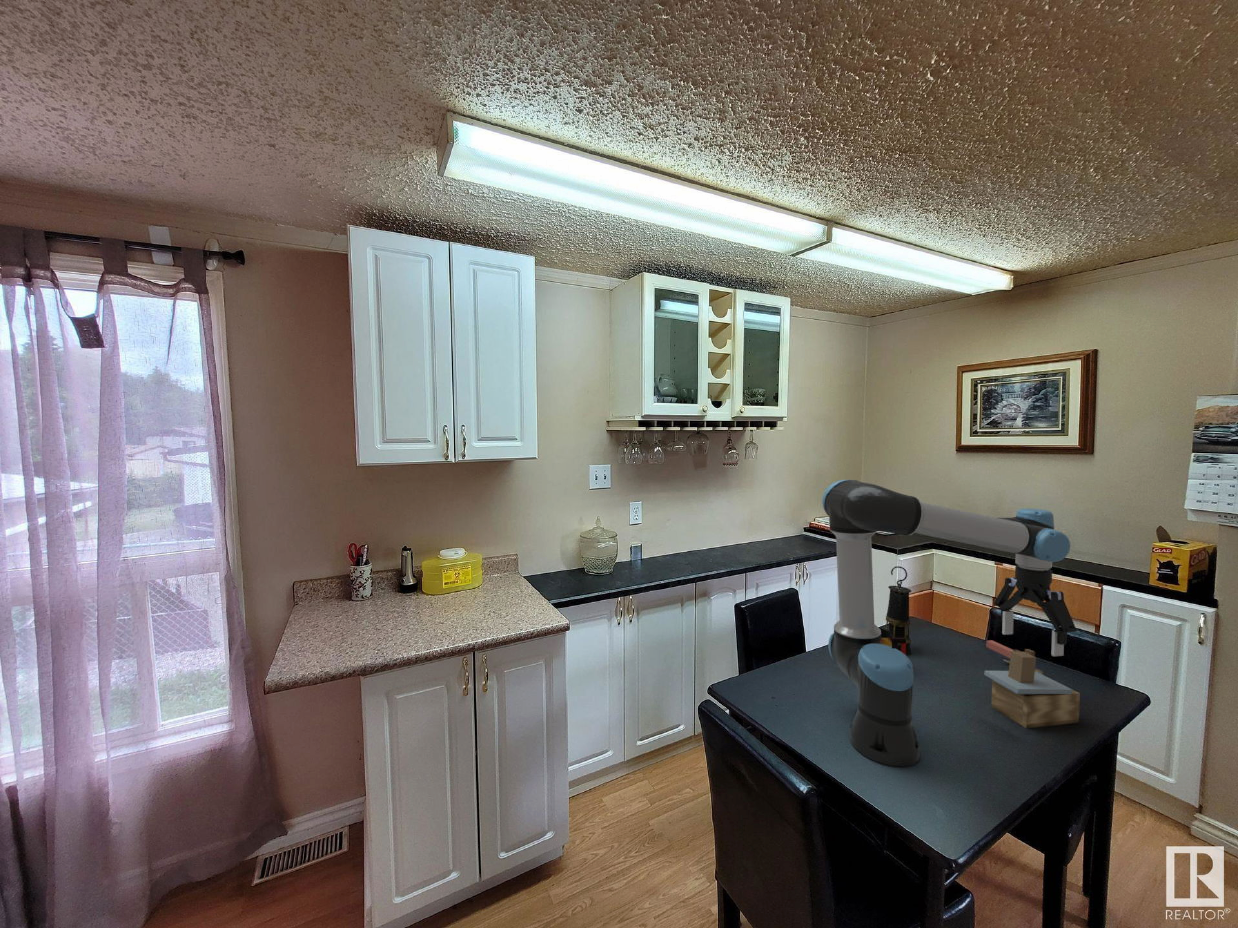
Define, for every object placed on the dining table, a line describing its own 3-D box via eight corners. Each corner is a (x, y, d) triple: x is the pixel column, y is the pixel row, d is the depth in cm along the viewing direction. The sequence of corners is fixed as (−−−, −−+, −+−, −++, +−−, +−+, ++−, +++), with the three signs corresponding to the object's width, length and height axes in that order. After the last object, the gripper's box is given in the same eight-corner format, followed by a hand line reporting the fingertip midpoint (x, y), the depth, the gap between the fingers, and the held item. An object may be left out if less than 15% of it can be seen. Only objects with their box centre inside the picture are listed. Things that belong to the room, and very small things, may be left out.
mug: (906, 667, 158) (907, 632, 157) (878, 677, 152) (879, 640, 151) (879, 655, 167) (880, 622, 166) (851, 664, 161) (852, 629, 160)
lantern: (901, 657, 165) (903, 571, 164) (876, 647, 173) (878, 565, 172) (916, 651, 170) (918, 568, 168) (891, 642, 178) (893, 562, 176)
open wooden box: (1026, 728, 125) (1027, 698, 125) (991, 706, 135) (992, 679, 135) (1078, 722, 127) (1079, 693, 127) (1040, 701, 137) (1041, 674, 137)
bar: (1026, 666, 139) (1026, 659, 138) (986, 646, 151) (986, 640, 151) (1032, 665, 139) (1032, 658, 139) (991, 646, 152) (992, 640, 152)
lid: (1017, 697, 125) (1020, 662, 124) (983, 678, 135) (987, 646, 134) (1071, 697, 127) (1075, 663, 126) (1034, 678, 137) (1038, 647, 136)
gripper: (1097, 579, 117) (1094, 664, 118) (1002, 554, 141) (1000, 625, 143) (1071, 581, 116) (1068, 666, 117) (980, 556, 140) (978, 626, 142)
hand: (1031, 644), depth 130 cm, fingers open, 13 cm apart
